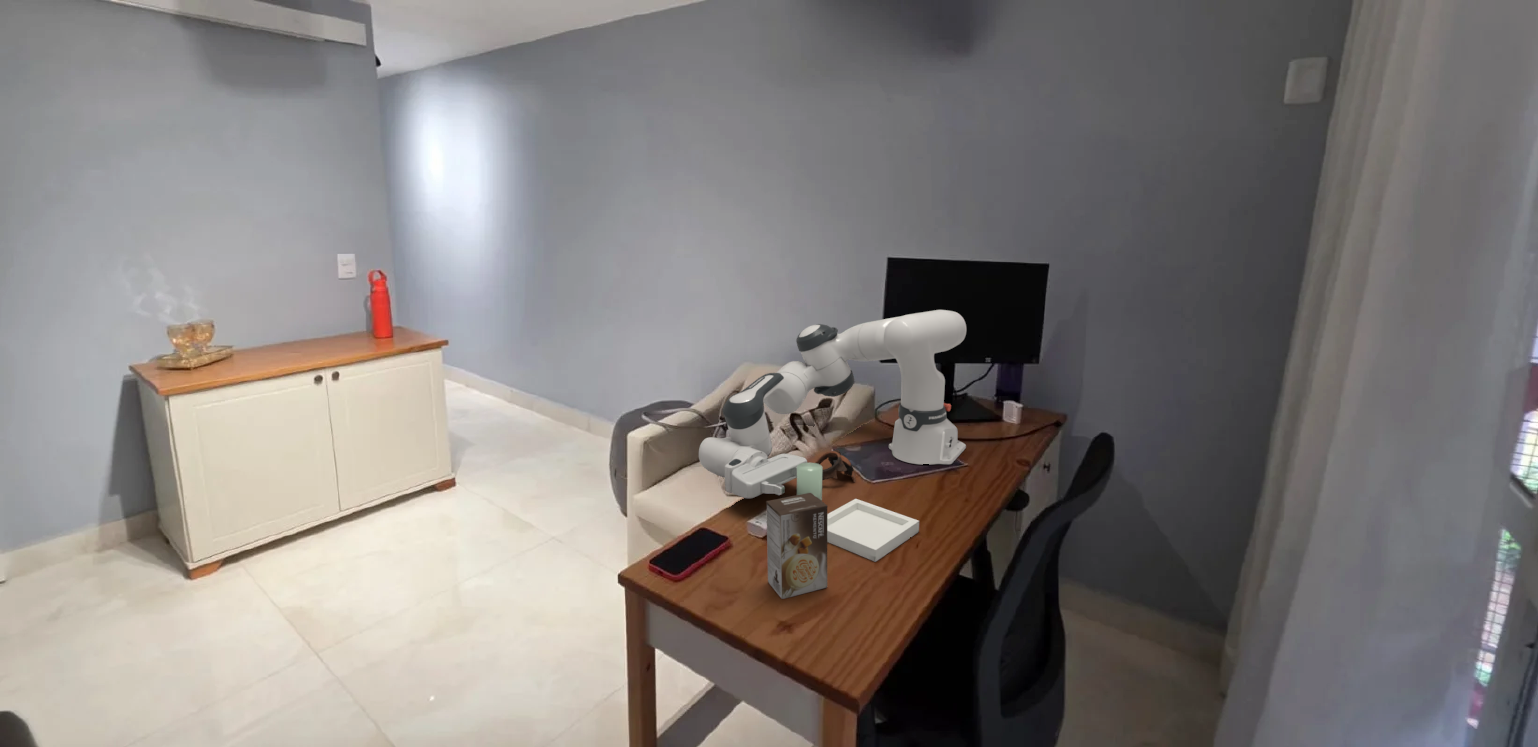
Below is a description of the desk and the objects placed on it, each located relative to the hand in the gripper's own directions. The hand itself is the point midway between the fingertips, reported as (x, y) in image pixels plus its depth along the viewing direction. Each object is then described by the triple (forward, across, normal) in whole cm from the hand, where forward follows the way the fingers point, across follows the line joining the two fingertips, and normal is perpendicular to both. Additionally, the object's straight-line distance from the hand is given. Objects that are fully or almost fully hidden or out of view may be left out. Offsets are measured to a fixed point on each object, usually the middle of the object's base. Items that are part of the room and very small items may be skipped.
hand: (796, 484), depth 146 cm
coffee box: (+19, +23, -6) cm, 30 cm away
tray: (+17, -1, -6) cm, 18 cm away
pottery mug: (-4, -20, -7) cm, 21 cm away
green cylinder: (+3, 0, -6) cm, 7 cm away
